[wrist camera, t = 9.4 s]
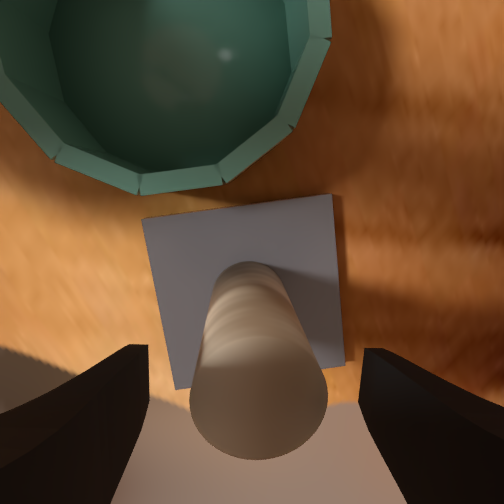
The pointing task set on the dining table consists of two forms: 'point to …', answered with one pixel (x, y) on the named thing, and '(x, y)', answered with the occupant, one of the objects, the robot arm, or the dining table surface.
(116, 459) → the robot arm
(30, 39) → the green pot
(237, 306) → the birch dowel
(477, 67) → the dining table surface
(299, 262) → the charcoal coaster
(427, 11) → the dining table surface
